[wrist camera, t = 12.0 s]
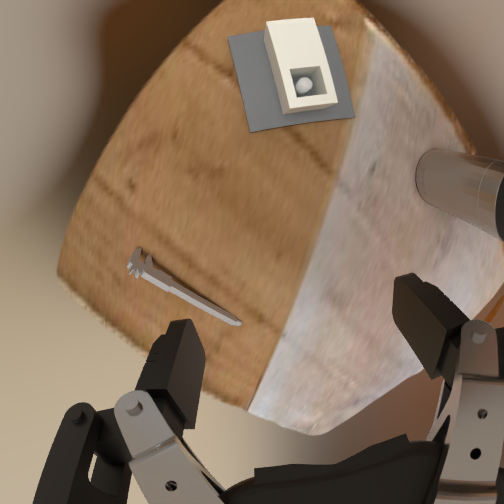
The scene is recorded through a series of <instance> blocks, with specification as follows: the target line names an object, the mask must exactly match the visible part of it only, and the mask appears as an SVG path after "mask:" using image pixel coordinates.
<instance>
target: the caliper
mask: <svg viewBox="0 0 504 504" xmlns="http://www.w3.org/2000/svg"><path fill="white" fill-rule="evenodd" d="M141 250H142V248H138V249H137V250H136V251H135V252H134V253H133V254H132V255H131V257H130V258H129V261H128V265H127V268H129V269H130V272H129V274H132V273H133V272H134V271H135V277H136V279H137V278H138V277H139V275H140V274H141V277H143V278H144V279H146V280H148V281H149V282H151V283H153V284H155V285H156V286H158V287H160V288H161V289H163V290H165V291H167V292H168V291H170V292H172V293H173V294H175V295H177V296H179V297H180V298H182V299H184V300H186V301H188V302H189V303H191V304H193V305H195V306H197V307H198V308H200V309H202V310H204V311H206V312H208V313H209V314H211V315H213V316H215V317H217V318H219V319H221V320H223V321H225V322H227V323H228V324H230V325H232V326H234V325H236V326H240V325H241V324H242V323H243V322H242V321H240V320H238V319H237V318H236V317H235V316H233V315H232V314H230V313H229V312H227V311H225V310H223V309H222V308H220V307H218V306H216V305H214V304H212V303H211V302H209V301H207V300H205V299H203V298H202V297H200V296H198V295H196V294H195V293H193V292H191V291H190V290H188V289H186V288H184V287H183V286H181V285H179V284H178V283H176V282H174V281H173V280H172V276H170V275H167V274H166V273H165V272H163V271H161V270H157V269H155V268H154V267H153V263H152V257H151V255H150V254H148V255H147V257H146V258H145V260H144V263H143V262H142V261H140V260H139V258H140V254H141Z"/></svg>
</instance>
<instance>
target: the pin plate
mask: <svg viewBox="0 0 504 504" xmlns="http://www.w3.org/2000/svg"><path fill="white" fill-rule="evenodd" d="M317 29H318V32H319V35H320V38H321V42H322V45H323V48H324V51H325V55H326V58H327V62H328V65H329V69H330V72H331V76H332V80H333V84H334V88H335V92H336V96H337V100H338V103H336V104H334V105H331V106H329V107H326V108H324V109H317V110H309V111H302V112H295V113H289V114H283V112H282V108H281V104H280V99H279V95H278V91H277V87H276V83H275V79H274V76H273V72H272V68H271V64H270V61H269V57H268V53H267V50H266V46H265V43H264V34H265V31H258V32H251V33H246V34H240V35H235V36H230V37H228V41H229V45H230V49H231V53H232V57H233V61H234V65H235V69H236V73H237V78H238V82H239V86H240V90H241V94H242V98H243V103H244V107H245V111H246V116H247V120H248V124H249V129H250V133H252V132H257V131H262V130H267V129H272V128H278V127H284V126H290V125H296V124H303V123H310V122H318V121H326V120H335V119H346V118H354V117H355V115H354V110H353V105H352V101H351V96H350V92H349V88H348V83H347V79H346V75H345V72H344V68H343V64H342V61H341V57H340V54H339V50H338V47H337V44H336V40H335V37H334V34H333V31H332V28H331V26H317ZM293 84H294V88H295V92H296V96H297V98H298V97H305V96H313V93H312V89H311V88H312V85H313V84H312V81H311V80H310V79H309V78H307V77H303V78H301V79H293Z"/></svg>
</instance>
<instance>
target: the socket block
mask: <svg viewBox="0 0 504 504" xmlns="http://www.w3.org/2000/svg"><path fill="white" fill-rule="evenodd" d="M264 43H265V46H266V50H267V53H268V57H269V61H270V64H271V68H272V72H273V76H274V79H275V83H276V87H277V91H278V95H279V99H280V104H281V108H282V112H283V114H289V113H295V112H302V111H309V110H317V109H324V108H326V107H329V106H331V105H334V104H336V103H338V100H337V96H336V92H335V88H334V84H333V80H332V76H331V72H330V69H329V65H328V62H327V58H326V55H325V51H324V48H323V45H322V42H321V38H320V35H319V32H318V29H317V26H316V23H315V20H314V18H299V19H287V20H277V21H269V22H266V27H265V34H264ZM303 77H307V78H309V79H310V80H311V81H312V84H313V85H312V88H311V89H312V93H313V96H305V97H298V98H297V96H296V92H295V88H294V84H293V79H301V78H303Z"/></svg>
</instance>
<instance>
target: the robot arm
mask: <svg viewBox="0 0 504 504" xmlns="http://www.w3.org/2000/svg"><path fill="white" fill-rule="evenodd" d="M416 183H417V188H418V191H419V193H420V195H421V197H422V198H423V199H424V200H425V201H426V202H427V203H429V204H431V205H433V206H435V207H437V208H440V209H442V210H444V211H446V212H448V213H450V214H452V215H454V216H456V217H458V218H460V219H462V220H464V221H466V222H468V223H470V224H472V225H474V226H476V227H478V228H479V229H481V230H483V231H485V232H487V233H489V234H491V235H492V236H494V237H496V238H498V239H499V240H501V241H503V242H504V161H499V160H495V159H491V158H486V157H481V156H476V155H471V154H466V153H460V152H454V151H448V150H441V149H432V150H430V151H428V152H426V153H425V154H424V155H423V156H422V158H421V159H420V161H419V164H418V167H417V171H416ZM392 314H393V319H394V322H395V324H396V325H397V327H398V328H399V330H400V331H401V333H402V334H403V336H404V337H405V339H406V340H407V342H408V343H409V345H410V346H411V348H412V349H413V351H414V353H415V354H416V356H417V357H418V359H419V360H420V362H421V364H422V365H423V367H424V368H425V370H426V372H427V373H428V375H429V377H430V378H431V380H432V379H434V378H436V377H439V376H441V375H442V376H443V378H444V381H443V383H442V387H441V393H440V397H439V402H438V407H437V411H436V415H435V419H434V422H433V426H432V428H431V431H430V433H429V435H428V438H427V440H426V441H421V440H419V441H409V440H408V438H407V435H406V434H403V435H400V436H398V437H395V438H392V439H389V440H387V441H384V442H381V443H378V444H375V445H372V446H370V447H368V448H366V449H364V450H363V451H361V452H359V453H357V454H356V455H353V456H351V457H350V458H347V459H345V460H343V461H342V462H339V463H337V464H333V465H308V464H307V465H306V464H288V465H281V466H274V467H263V468H255V469H254V473H255V474H254V475H255V476H254V477H252V478H249V479H246V480H244V481H241V482H239V483H237V484H235V485H233V486H231V487H230V488H228V489H227V490H225V489H224V488H223V487H222V486H221V484H220V483H219V482H218V481H217V480H216V479H215V478H214V477H213V476H212V475H211V474H210V472H209V471H208V470H207V469H206V468H205V467H204V465H203V464H202V463H201V461H200V460H199V459H198V457H197V456H196V455H195V453H194V452H193V451H192V449H191V448H190V447H189V445H188V444H187V442H186V441H185V440H184V438H183V437H182V436H183V430H184V429H195V423H196V416H197V410H198V404H199V398H200V391H201V385H202V379H203V373H204V368H205V352H204V348H203V346H202V343H201V341H200V339H199V336H198V334H197V331H196V329H195V326H194V324H193V322H192V320H191V319H182V320H175V321H171V322H170V324H169V327H168V329H167V332H166V334H164V335H161V336H160V337H159V338H158V339H157V340H156V341H155V342H154V343H153V345H152V348H151V350H150V352H149V355H148V357H147V360H146V363H145V365H144V367H143V370H142V372H141V375H140V378H139V380H138V383H137V385H136V388H135V391H131V392H129V393H127V394H125V395H123V396H122V397H121V398H120V399H119V400H118V401H117V403H116V404H115V407H114V408H111V409H106V410H102V411H97V412H96V410H95V409H94V408H93V407H92V406H91V405H90V404H88V403H84V402H83V403H77V404H75V405H73V406H72V407H71V408H69V409H68V411H67V412H66V413H65V415H64V418H63V420H62V422H61V425H60V427H59V430H58V432H57V434H56V437H55V439H54V442H53V444H52V447H51V449H50V452H49V455H48V457H47V460H46V463H45V466H44V469H43V472H42V475H41V478H40V481H39V484H38V487H37V490H36V493H35V497H34V501H33V504H127V498H128V491H129V486H130V480H131V475H132V473H133V475H134V477H135V479H136V481H137V483H138V485H139V487H140V489H141V491H142V492H143V494H144V496H145V498H146V500H147V501H148V503H149V504H504V468H501V467H499V464H500V459H501V453H502V446H503V438H504V327H503V328H497V329H494V328H493V326H491V325H490V324H489V323H487V322H485V321H482V320H470V319H469V318H468V317H467V316H466V315H465V314H464V313H463V312H462V311H461V310H460V309H459V308H458V307H457V306H456V305H455V304H454V303H453V302H452V301H450V299H449V298H448V297H447V296H446V295H444V293H443V292H442V291H441V290H440V289H439V288H438V287H436V286H434V285H432V284H430V283H428V282H423V281H422V280H421V279H420V278H419V277H418V276H417V275H416V274H414V273H409V274H406V275H402V276H398V277H396V278H395V280H394V292H393V306H392ZM93 454H95V455H96V456H97V459H96V463H95V466H94V470H93V474H92V478H91V482H90V481H89V478H88V471H89V468H90V464H91V461H92V457H93Z"/></svg>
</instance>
